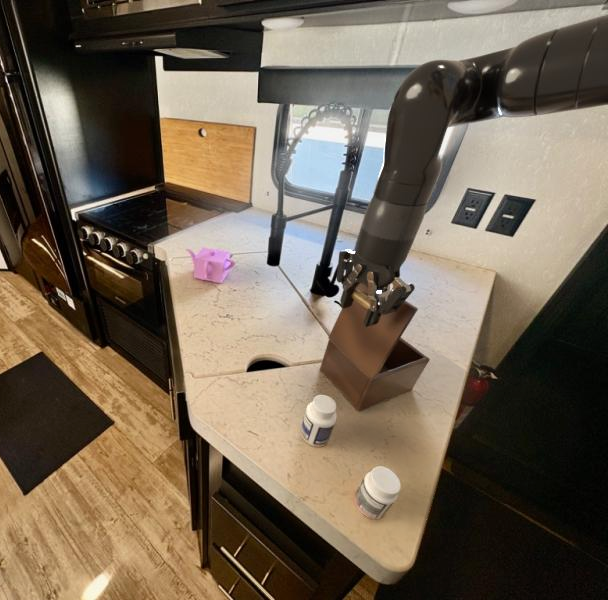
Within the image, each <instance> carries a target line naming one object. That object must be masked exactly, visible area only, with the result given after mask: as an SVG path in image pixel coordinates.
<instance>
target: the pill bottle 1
mask: <svg viewBox="0 0 608 600" xmlns="http://www.w3.org/2000/svg"><path fill="white" fill-rule="evenodd" d="M336 410H337V403H336V401H335V400H334V399H333V398H332V397H330V396H329V395H325V394H318V395H316V396H314V398H313V400H312V401H311V402H309V403H308V404H307V406H306V409H305V413H304V416H303V418H302V422H301V425H300V435H301V437H302V439H303V440H304V441H305V443H306V444H308V445H310V446H313V447H318V448H319V447H324V446H326V444H327V443H328V442H329V440H330V437H331V435H332V432H333V431H334V427H335V425H336V422H337V412H336Z"/></svg>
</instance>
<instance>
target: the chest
mask: <svg viewBox="0 0 608 600" xmlns="http://www.w3.org/2000/svg"><path fill="white" fill-rule="evenodd" d="M430 360H431V359H430V358H429V357H427V356H426V355H425V354H423V352H421V351H420V350H418V349H417V348H416V347H414V346H413V345H412V344H411V343H409V342H408V341H406V340H405V339H404V338H403V337H402V336H401V337H400V339H399V341H398V342H397V344H396V345H395V347H394V349H393V350H392V352H391V353H390V355H389V357H388V358H387V360H386V361H385V363H384V365H383V366H382V368H381V370H380V371H379V373H378V374H377V376H376V378H375V379H371V378H370V377H368V376H367V375H366V374H365V373H364V372H363V371H362V370H361V369H360V368H359V367H358V366H357V365H356V364H355V363H354V362H353V361H352V360H351V359H350V358H349V357H348V356H346V355H345V354H344V353H343V352H342V351H341V350H340V349H339V348H338V347H337V346H336V345H335V344H334V343H333V342H332V341H331V340H330V339H329V338H328V341H327V345H326V349H325V351H324V353H323V358H322V360H321V364H320V367H319V371H321V373H322V374H323V375H324V376H325V377H326V379H328V381H330V383H331V384H332V385H333V386H334V387H335V388H336V389H337V390H338V392H339V393H340V394H341V395H342V396H343V397H344V398H345V399H346V400H347V401H348V403H349V404H350V405H351V406H352V407H353V408H354V410H356V411H357V413H359V412H361V411H364V410H365V409H368V408H371V407H374V406H376V405H378V404H380V403H383V402H385V401H387V400H390V399H393V398H395V397H397V396H400V395H402V394H405V393H407V392H410V391H412V390H413V389H414V387H415V385H416V383H417V382H418V381H419V378H421V375H422V373H423V372H424V371H425V369H426V367H427V365H428V364H429V362H430Z"/></svg>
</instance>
